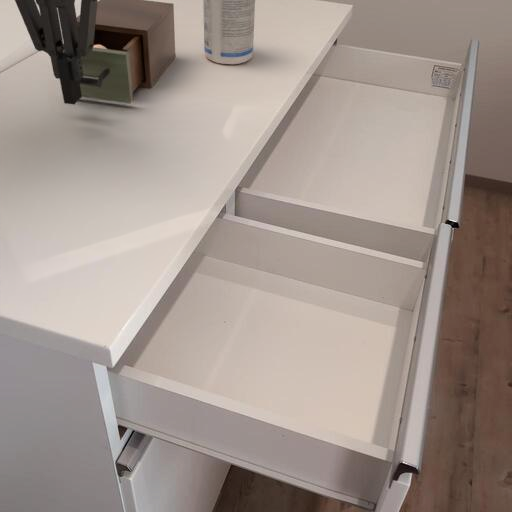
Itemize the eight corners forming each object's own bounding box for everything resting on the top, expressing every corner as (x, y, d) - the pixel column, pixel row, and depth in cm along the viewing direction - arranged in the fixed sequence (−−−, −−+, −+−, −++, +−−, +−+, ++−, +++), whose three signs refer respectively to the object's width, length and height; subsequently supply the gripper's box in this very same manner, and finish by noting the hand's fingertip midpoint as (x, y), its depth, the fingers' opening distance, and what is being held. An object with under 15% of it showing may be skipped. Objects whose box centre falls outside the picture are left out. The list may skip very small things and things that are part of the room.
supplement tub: (259, 53, 109) (265, -27, 100) (240, 70, 102) (244, -15, 93) (216, 44, 112) (217, -35, 102) (194, 59, 105) (193, -24, 95)
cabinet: (151, 88, 94) (147, 30, 88) (80, 78, 95) (71, 20, 89) (175, 57, 105) (173, 3, 99) (112, 48, 106) (106, -5, 100)
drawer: (119, 117, 84) (114, 67, 78) (48, 107, 85) (37, 57, 79) (157, 70, 98) (154, 25, 92) (95, 62, 99) (89, 17, 93)
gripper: (-29, -88, 62) (18, 105, 78) (79, -77, 61) (105, 117, 76) (5, -98, 68) (43, 83, 83) (105, -88, 67) (124, 95, 82)
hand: (73, 99), depth 80 cm, fingers closed
